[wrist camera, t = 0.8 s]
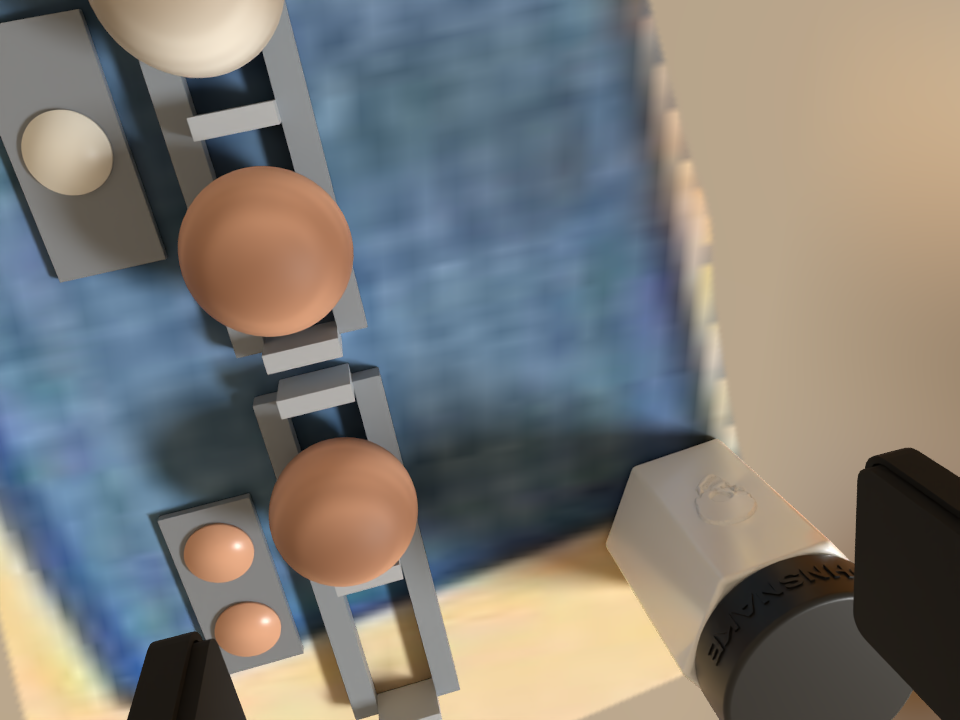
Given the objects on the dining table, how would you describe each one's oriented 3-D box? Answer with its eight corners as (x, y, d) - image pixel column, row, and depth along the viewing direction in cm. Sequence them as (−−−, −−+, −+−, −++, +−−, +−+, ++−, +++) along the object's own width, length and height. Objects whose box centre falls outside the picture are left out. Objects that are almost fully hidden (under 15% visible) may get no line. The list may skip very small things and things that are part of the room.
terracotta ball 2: (256, 433, 33) (242, 506, 27) (393, 399, 34) (407, 463, 28) (294, 548, 35) (289, 636, 30) (422, 514, 36) (440, 594, 30)
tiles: (-38, 31, 26) (-45, 30, 26) (81, 9, 27) (76, 8, 26) (221, 670, 37) (220, 679, 37) (303, 647, 38) (303, 656, 37)
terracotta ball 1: (170, 176, 29) (134, 200, 23) (329, 142, 29) (330, 158, 24) (220, 324, 31) (197, 379, 25) (366, 291, 32) (375, 336, 26)
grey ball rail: (72, -161, 25) (48, -183, 23) (237, -187, 26) (229, -211, 24) (357, 712, 40) (359, 750, 38) (458, 682, 40) (466, 718, 38)
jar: (756, 418, 38) (933, 558, 27) (774, 548, 41) (939, 721, 30) (587, 476, 38) (698, 643, 26) (618, 604, 41) (729, 802, 30)
